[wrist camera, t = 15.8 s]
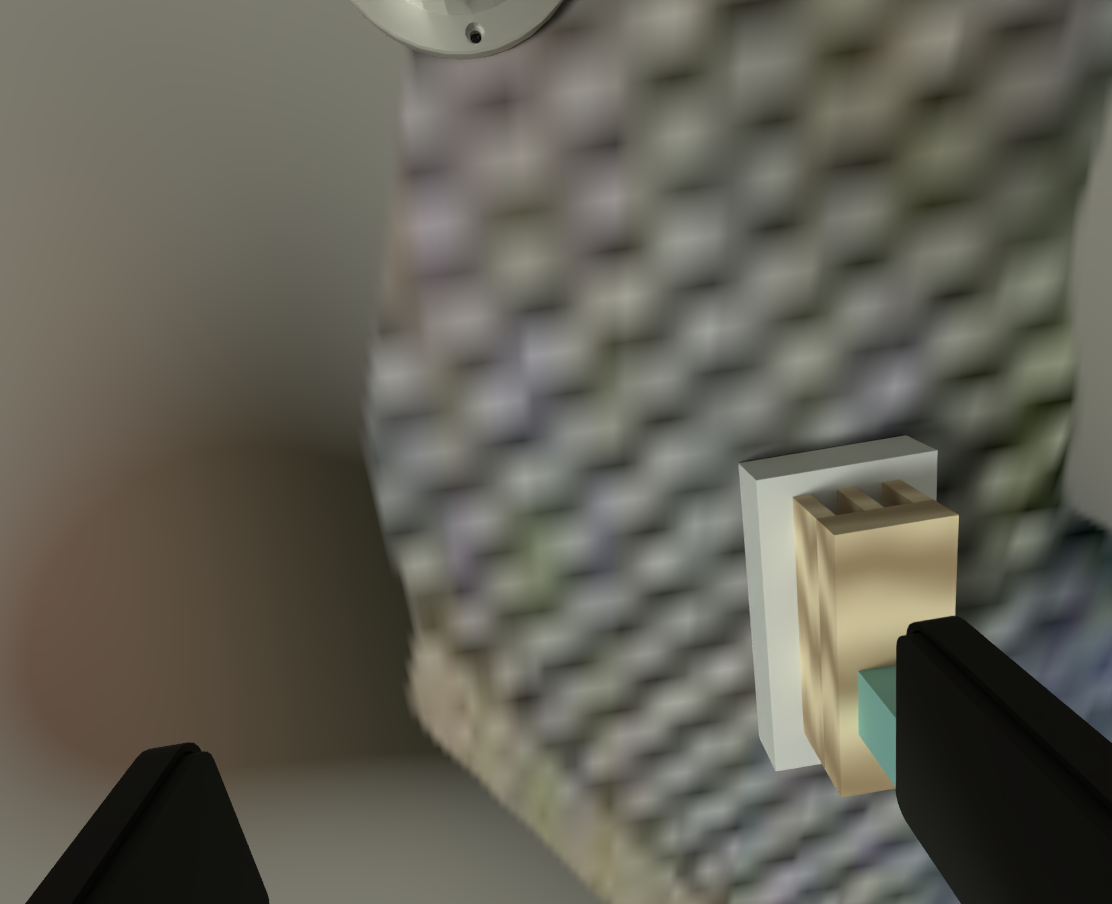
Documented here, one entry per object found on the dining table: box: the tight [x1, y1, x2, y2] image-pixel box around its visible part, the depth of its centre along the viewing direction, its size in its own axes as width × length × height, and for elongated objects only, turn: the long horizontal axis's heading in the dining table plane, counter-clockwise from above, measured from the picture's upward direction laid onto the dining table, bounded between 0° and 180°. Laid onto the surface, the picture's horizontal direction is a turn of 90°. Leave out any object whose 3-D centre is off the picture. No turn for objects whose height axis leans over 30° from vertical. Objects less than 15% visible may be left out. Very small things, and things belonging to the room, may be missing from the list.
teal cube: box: [858, 665, 896, 786], centre depth 32 cm, size 4×4×4 cm
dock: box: [739, 435, 938, 771], centre depth 39 cm, size 20×10×3 cm, turn 9°
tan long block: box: [792, 479, 959, 797], centre depth 35 cm, size 16×6×5 cm, turn 9°
